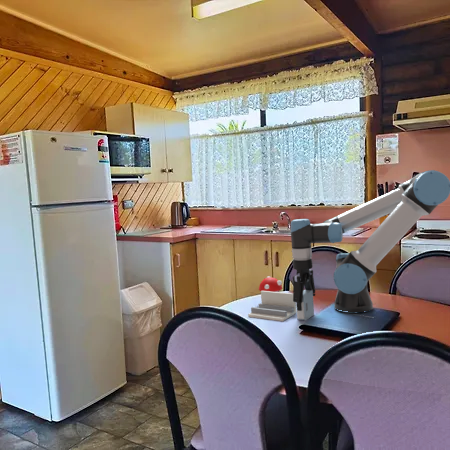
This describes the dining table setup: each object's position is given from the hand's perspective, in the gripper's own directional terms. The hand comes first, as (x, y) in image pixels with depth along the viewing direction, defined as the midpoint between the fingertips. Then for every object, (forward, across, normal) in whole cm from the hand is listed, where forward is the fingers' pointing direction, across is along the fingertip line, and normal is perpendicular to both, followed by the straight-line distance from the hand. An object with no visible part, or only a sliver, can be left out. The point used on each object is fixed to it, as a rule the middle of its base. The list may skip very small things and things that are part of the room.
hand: (305, 315), depth 165 cm
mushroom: (+1, -13, -23) cm, 26 cm away
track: (+1, +2, -14) cm, 14 cm away
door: (+1, 0, 0) cm, 1 cm away
